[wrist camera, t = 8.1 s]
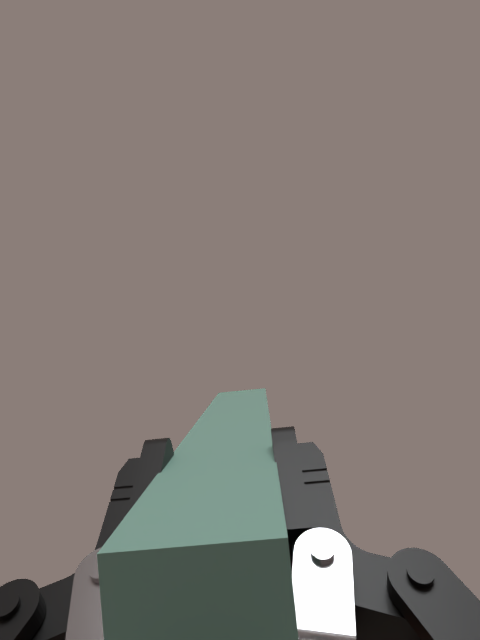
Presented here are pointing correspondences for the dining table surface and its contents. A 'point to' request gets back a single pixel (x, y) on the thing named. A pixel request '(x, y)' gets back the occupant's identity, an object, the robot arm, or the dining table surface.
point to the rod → (205, 539)
